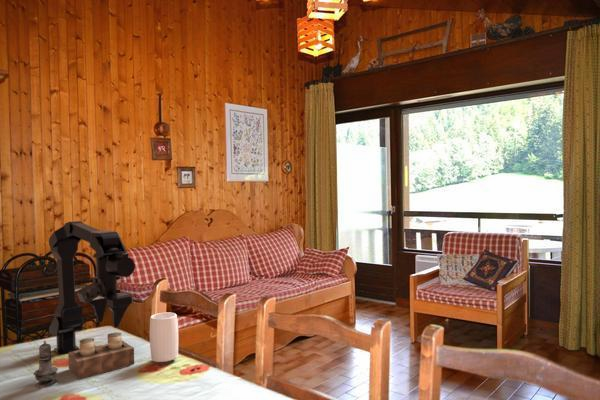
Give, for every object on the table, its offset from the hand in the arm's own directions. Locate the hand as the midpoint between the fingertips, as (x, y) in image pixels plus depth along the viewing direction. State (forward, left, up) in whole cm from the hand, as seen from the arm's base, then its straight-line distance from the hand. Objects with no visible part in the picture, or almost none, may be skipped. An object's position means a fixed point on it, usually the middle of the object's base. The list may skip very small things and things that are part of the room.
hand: (107, 324), depth 139 cm
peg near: (-1, -6, -8) cm, 10 cm away
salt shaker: (+1, -17, -13) cm, 22 cm away
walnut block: (-1, -2, -13) cm, 13 cm away
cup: (+8, +14, -13) cm, 21 cm away
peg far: (-1, +2, -8) cm, 9 cm away
